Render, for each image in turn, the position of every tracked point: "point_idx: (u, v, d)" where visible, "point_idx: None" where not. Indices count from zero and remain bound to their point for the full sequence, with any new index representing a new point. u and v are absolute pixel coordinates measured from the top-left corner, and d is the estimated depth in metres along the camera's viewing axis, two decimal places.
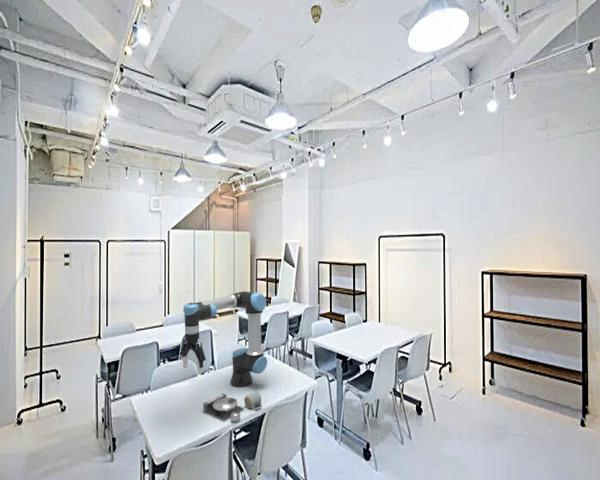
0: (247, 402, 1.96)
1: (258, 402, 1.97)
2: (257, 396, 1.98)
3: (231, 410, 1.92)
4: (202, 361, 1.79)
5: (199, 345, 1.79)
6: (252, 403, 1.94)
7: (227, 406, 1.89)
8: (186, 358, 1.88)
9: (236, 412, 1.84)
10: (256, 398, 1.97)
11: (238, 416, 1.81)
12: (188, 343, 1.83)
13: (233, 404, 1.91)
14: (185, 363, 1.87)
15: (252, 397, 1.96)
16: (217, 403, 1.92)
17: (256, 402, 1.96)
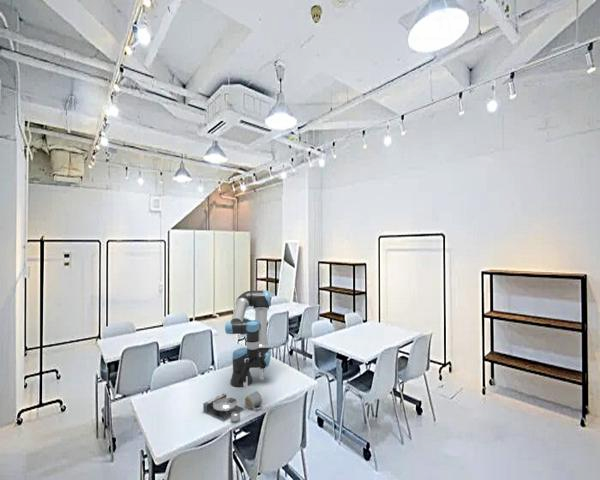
0: (247, 403, 1.96)
1: (259, 402, 1.97)
2: (258, 396, 1.97)
3: (231, 410, 1.92)
4: None
5: (244, 360, 1.92)
6: (253, 403, 1.94)
7: (227, 406, 1.89)
8: (261, 370, 2.02)
9: (236, 412, 1.84)
10: (257, 398, 1.96)
11: (238, 416, 1.81)
12: None
13: (233, 404, 1.91)
14: (260, 374, 2.03)
15: (253, 397, 1.96)
16: (217, 403, 1.92)
17: (257, 402, 1.96)
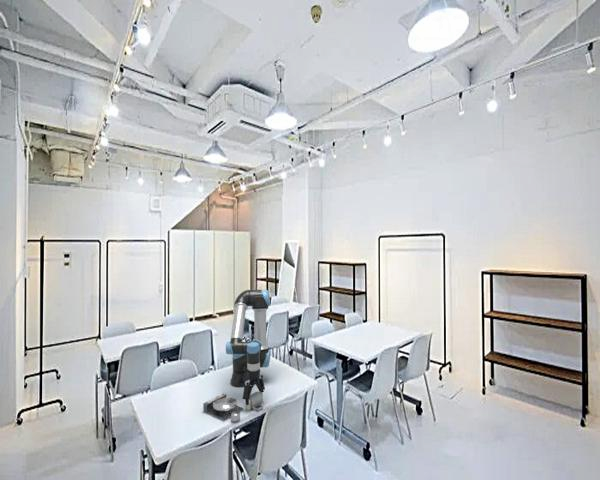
0: None
1: (259, 403, 1.96)
2: (258, 397, 1.97)
3: (231, 410, 1.92)
4: (246, 399, 1.92)
5: (245, 384, 1.92)
6: (253, 404, 1.93)
7: (227, 406, 1.89)
8: None
9: (236, 412, 1.84)
10: (257, 399, 1.96)
11: (238, 416, 1.81)
12: None
13: (233, 404, 1.91)
14: None
15: (254, 397, 1.95)
16: (217, 403, 1.92)
17: (257, 403, 1.95)
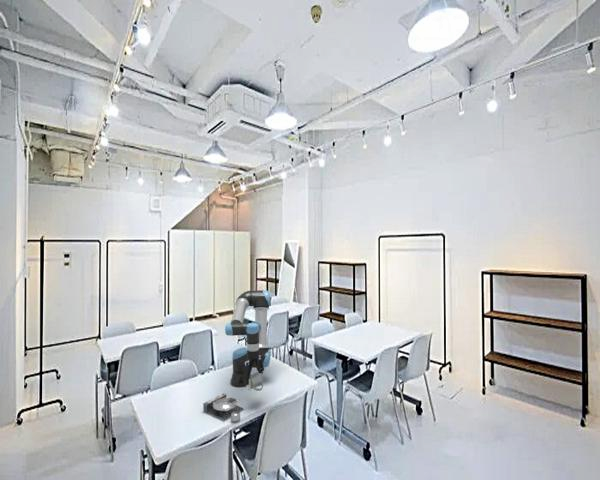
0: None
1: (259, 383, 1.97)
2: (258, 377, 1.97)
3: (231, 410, 1.92)
4: (246, 379, 1.93)
5: (245, 364, 1.92)
6: (253, 384, 1.94)
7: (227, 406, 1.89)
8: None
9: (236, 412, 1.84)
10: (257, 379, 1.96)
11: (238, 416, 1.81)
12: None
13: (233, 404, 1.91)
14: None
15: (254, 377, 1.96)
16: (217, 403, 1.92)
17: (257, 383, 1.96)
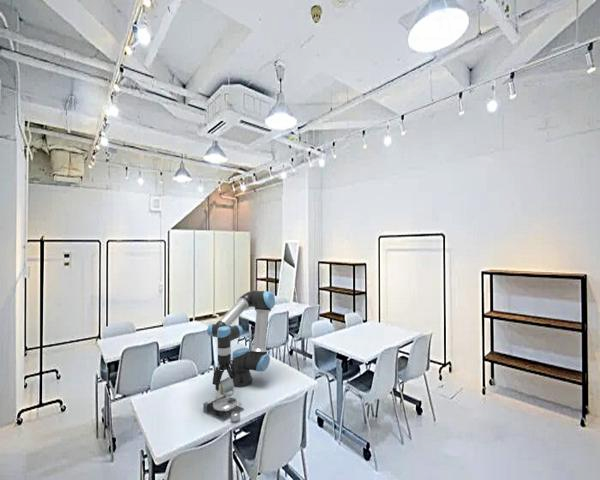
0: None
1: (230, 388, 1.91)
2: (229, 382, 1.91)
3: (231, 410, 1.92)
4: (216, 384, 1.87)
5: (214, 369, 1.87)
6: (224, 389, 1.88)
7: (227, 406, 1.89)
8: None
9: (236, 412, 1.84)
10: (228, 384, 1.90)
11: (238, 416, 1.81)
12: None
13: (233, 404, 1.91)
14: None
15: (224, 383, 1.90)
16: (217, 403, 1.92)
17: (228, 388, 1.90)
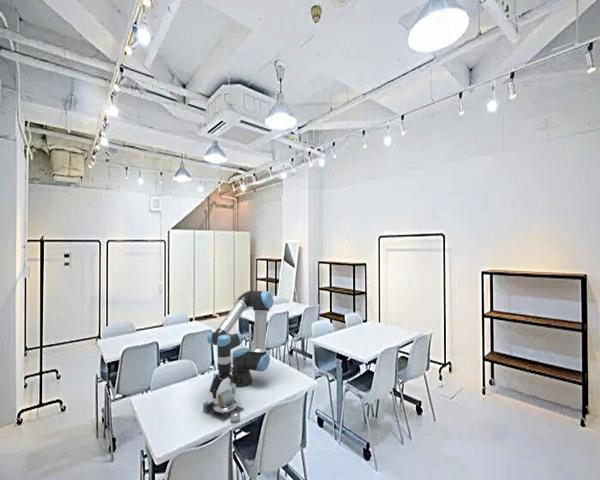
0: (218, 401, 1.90)
1: (230, 401, 1.91)
2: (229, 394, 1.92)
3: None
4: (213, 392, 1.85)
5: (214, 376, 1.87)
6: (224, 402, 1.88)
7: None
8: (233, 385, 1.97)
9: (236, 412, 1.84)
10: (228, 396, 1.91)
11: (238, 416, 1.81)
12: None
13: (233, 406, 1.91)
14: (232, 389, 1.98)
15: (225, 395, 1.90)
16: (217, 404, 1.92)
17: (228, 401, 1.90)
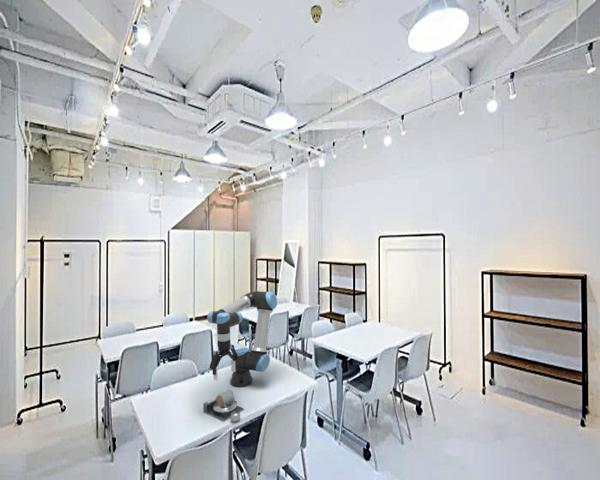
0: (219, 401, 1.90)
1: (231, 401, 1.91)
2: (230, 395, 1.91)
3: None
4: (213, 369, 1.86)
5: (214, 353, 1.88)
6: (224, 402, 1.88)
7: None
8: (233, 363, 1.98)
9: (236, 412, 1.84)
10: (229, 397, 1.90)
11: (238, 416, 1.81)
12: None
13: None
14: (232, 367, 1.99)
15: (225, 395, 1.90)
16: (217, 404, 1.92)
17: (229, 401, 1.90)
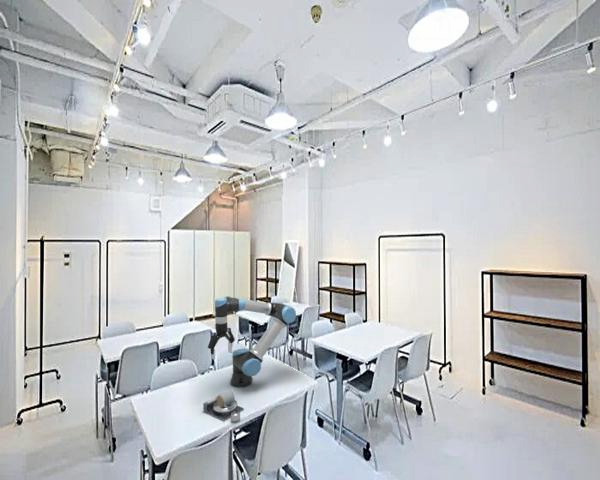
0: (219, 401, 1.89)
1: (231, 401, 1.91)
2: (230, 395, 1.91)
3: None
4: (211, 349, 2.03)
5: (212, 334, 2.05)
6: (224, 402, 1.88)
7: None
8: (230, 344, 2.15)
9: (236, 412, 1.84)
10: (229, 397, 1.90)
11: (238, 416, 1.81)
12: None
13: None
14: (229, 348, 2.15)
15: (225, 395, 1.90)
16: (217, 404, 1.92)
17: (229, 401, 1.90)
